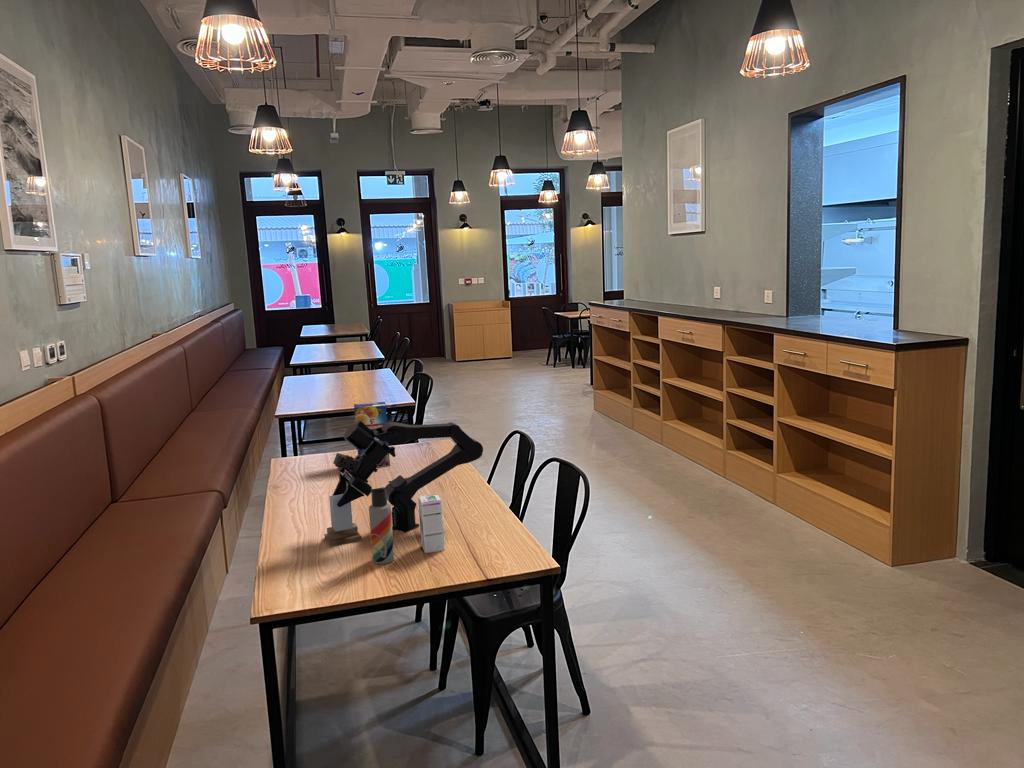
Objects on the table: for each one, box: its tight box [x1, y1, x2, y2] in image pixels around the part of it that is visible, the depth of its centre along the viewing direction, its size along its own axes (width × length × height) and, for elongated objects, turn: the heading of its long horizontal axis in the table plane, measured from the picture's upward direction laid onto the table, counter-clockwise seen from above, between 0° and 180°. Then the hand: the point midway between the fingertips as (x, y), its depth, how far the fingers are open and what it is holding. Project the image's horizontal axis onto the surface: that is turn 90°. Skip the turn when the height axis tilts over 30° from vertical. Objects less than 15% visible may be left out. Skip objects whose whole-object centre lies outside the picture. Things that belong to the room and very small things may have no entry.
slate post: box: [328, 494, 354, 532], centre depth 213 cm, size 5×5×9 cm
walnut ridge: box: [323, 522, 362, 547], centre depth 214 cm, size 9×7×4 cm
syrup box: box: [417, 494, 446, 554], centre depth 204 cm, size 6×6×14 cm
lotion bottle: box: [368, 486, 395, 565], centre depth 196 cm, size 6×6×20 cm
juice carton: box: [353, 401, 391, 467], centre depth 290 cm, size 12×8×24 cm, turn 104°
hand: (335, 502), depth 212 cm, fingers open, 7 cm apart
